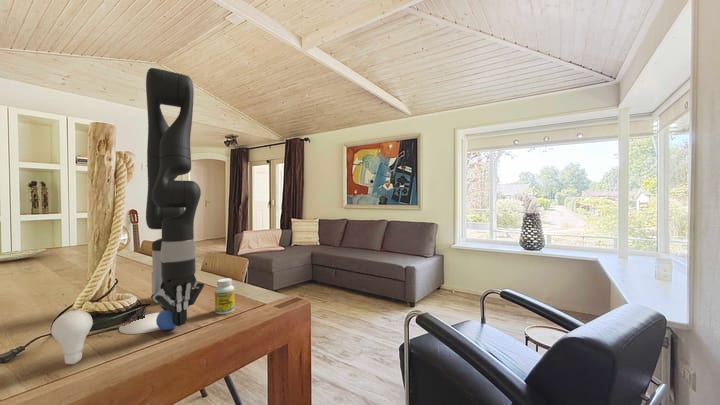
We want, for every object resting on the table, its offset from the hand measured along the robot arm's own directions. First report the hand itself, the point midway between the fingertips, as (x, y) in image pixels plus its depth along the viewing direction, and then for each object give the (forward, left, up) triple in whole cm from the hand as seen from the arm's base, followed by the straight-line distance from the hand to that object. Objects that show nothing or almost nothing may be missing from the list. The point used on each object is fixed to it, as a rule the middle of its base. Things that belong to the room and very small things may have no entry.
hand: (179, 324), depth 75 cm
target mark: (-13, 0, -2) cm, 13 cm away
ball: (-4, 0, +1) cm, 4 cm away
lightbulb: (-6, -19, -2) cm, 20 cm away
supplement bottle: (-1, +14, -2) cm, 14 cm away
